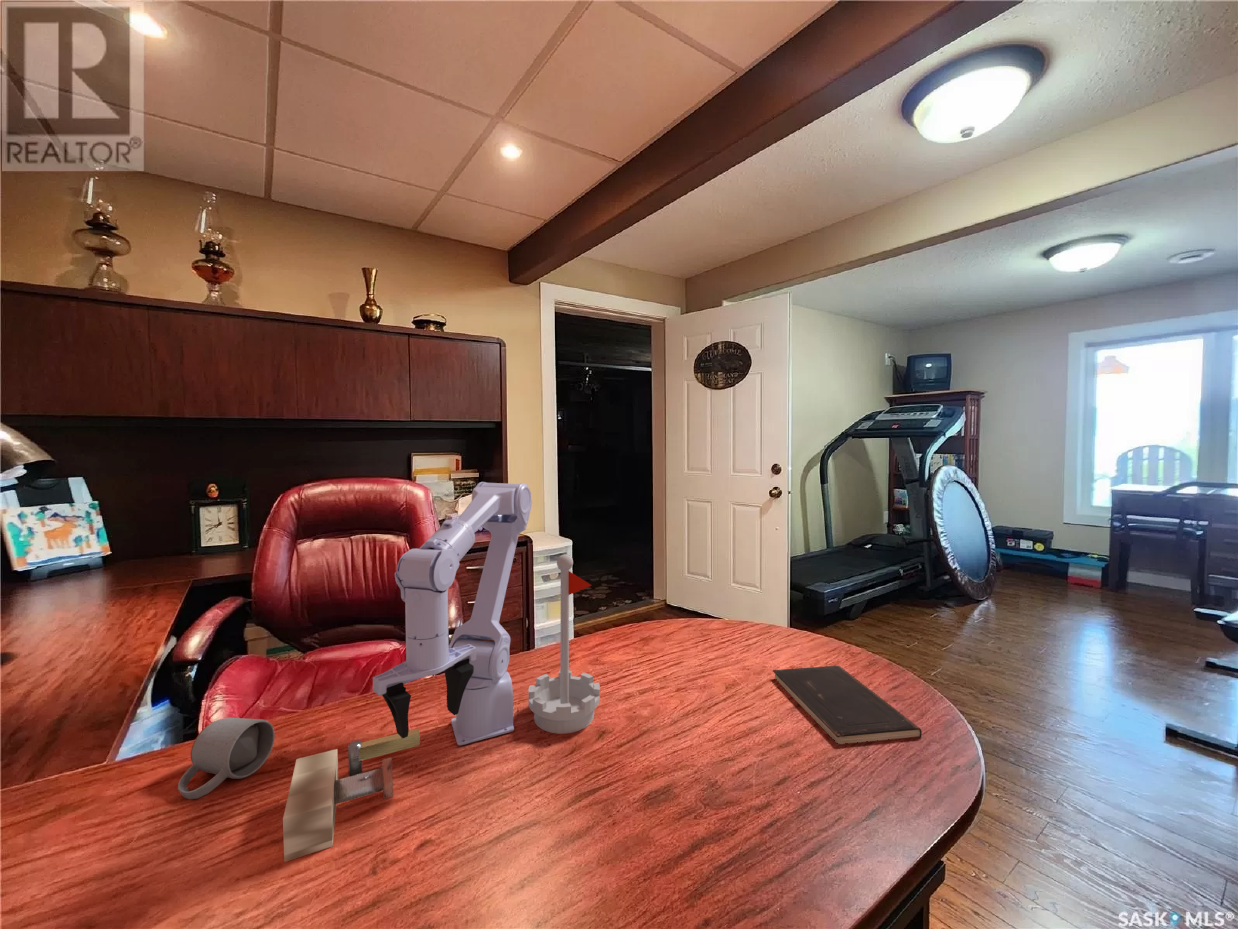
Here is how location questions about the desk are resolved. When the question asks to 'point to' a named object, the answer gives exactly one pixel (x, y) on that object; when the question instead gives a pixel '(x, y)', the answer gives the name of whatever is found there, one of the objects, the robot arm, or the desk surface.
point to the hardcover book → (845, 705)
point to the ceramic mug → (228, 752)
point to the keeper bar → (379, 748)
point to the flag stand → (565, 675)
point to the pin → (365, 783)
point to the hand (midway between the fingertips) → (428, 722)
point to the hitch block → (310, 805)
